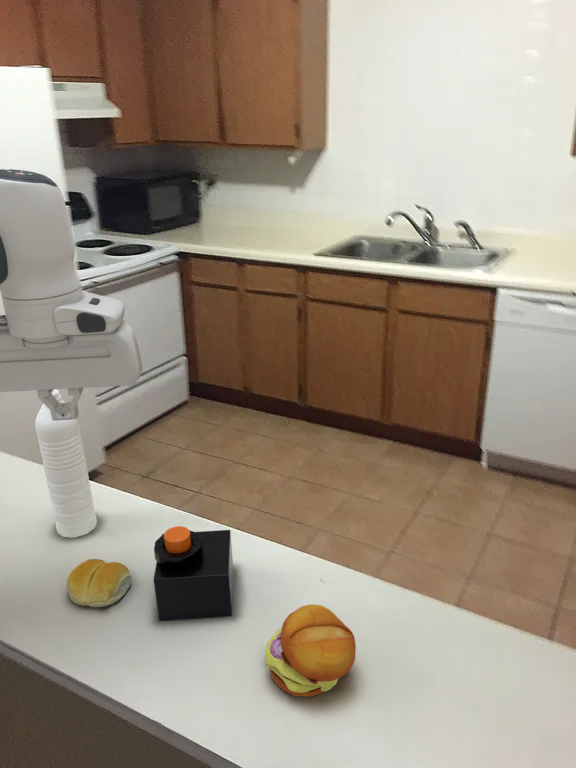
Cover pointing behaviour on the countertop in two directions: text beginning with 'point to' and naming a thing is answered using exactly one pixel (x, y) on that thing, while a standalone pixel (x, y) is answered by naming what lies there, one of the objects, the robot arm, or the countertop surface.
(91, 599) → the bread roll
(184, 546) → the orange button cap
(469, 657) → the countertop surface
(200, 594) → the black push button box
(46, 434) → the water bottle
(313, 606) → the cheeseburger
